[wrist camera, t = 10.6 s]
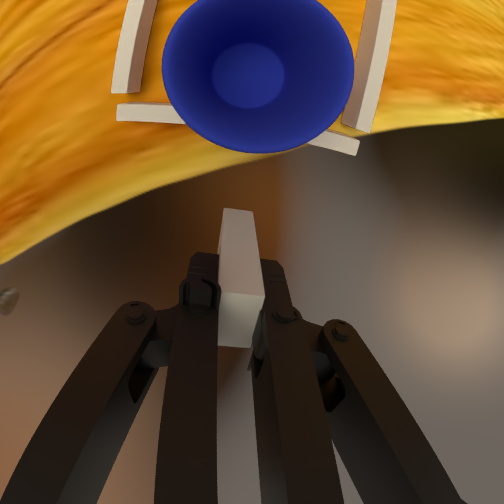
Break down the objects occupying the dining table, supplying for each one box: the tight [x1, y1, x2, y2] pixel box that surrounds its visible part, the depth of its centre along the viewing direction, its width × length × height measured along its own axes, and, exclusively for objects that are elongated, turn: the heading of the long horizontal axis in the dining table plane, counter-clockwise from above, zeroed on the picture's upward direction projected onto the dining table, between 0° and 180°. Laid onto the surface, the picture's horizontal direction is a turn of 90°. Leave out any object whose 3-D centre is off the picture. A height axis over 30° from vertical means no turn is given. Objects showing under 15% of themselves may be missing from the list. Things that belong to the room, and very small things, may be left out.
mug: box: [162, 0, 354, 153], centre depth 12 cm, size 8×12×10 cm
